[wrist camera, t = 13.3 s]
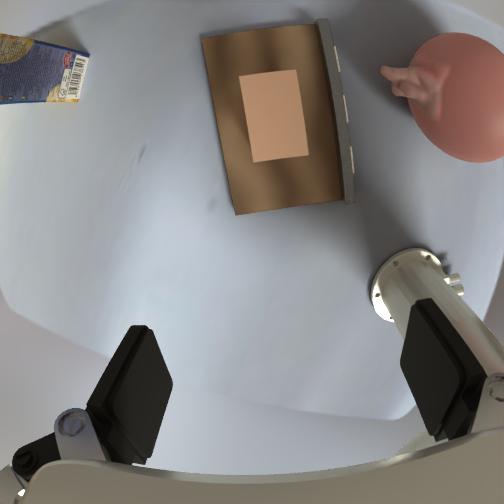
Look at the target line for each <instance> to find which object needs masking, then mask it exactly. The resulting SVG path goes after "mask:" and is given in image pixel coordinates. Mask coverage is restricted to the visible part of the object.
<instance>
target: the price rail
mask: <svg viewBox="0 0 504 504" xmlns="http://www.w3.org/2000/svg"><path fill="white" fill-rule="evenodd" d="M314 26H315V31H316V35H317V40H318V44H319V49H320V54H321V59H322V64H323V69H324V74H325V80H326V86H327V91H328V97H329V103H330V110H331V116H332V123H333V130H334V138H335V146H336V154H337V163H338V172H339V182H340V193H341V200H342V201H343V202H344V203H345V204H353V203H355V193H354V181H353V173H354V164H353V154H352V146H350V141H349V133H348V125H347V122H349V121H348V114H347V107H346V100H345V95H343V92H342V86H341V80H340V75H339V73H340V72H341V71H340V66H339V61H338V56H337V51H336V46H334V45H333V40H332V35H331V31H330V27H329V23H328V19H317V20H316V22H315V23H314Z"/></svg>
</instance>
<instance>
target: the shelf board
mask: <svg viewBox="0 0 504 504" xmlns="http://www.w3.org/2000/svg"><path fill="white" fill-rule="evenodd" d="M202 43H203V48H204V54H205V59H206V65H207V70H208V75H209V81H210V86H211V91H212V97H213V102H214V107H215V113H216V118H217V123H218V128H219V134H220V139H221V144H222V149H223V154H224V160H225V165H226V170H227V175H228V180H229V185H230V190H231V195H232V200H233V206H234V211H235V216H236V215H242V214H249V213H255V212H261V211H268V210H274V209H281V208H288V207H294V206H301V205H308V204H315V203H323V202H330V201H338V200H341V193H340V182H339V172H338V163H337V154H336V146H335V138H334V130H333V123H332V116H331V110H330V103H329V97H328V91H327V86H326V80H325V74H324V69H323V64H322V59H321V54H320V49H319V44H318V40H317V35H316V31H315V26H314V24H309V25H293V26H282V27H272V28H264V29H256V30H249V31H243V32H237V33H231V34H226V35H220V36H216V37H211V38H206V39H202ZM295 69H296V72H297V78H298V84H299V90H300V96H301V103H302V109H303V116H304V123H305V130H306V137H307V145H308V152H309V155H306V156H298V157H290V158H282V159H274V160H267V161H260V162H253V157H252V151H251V145H250V138H249V132H248V126H247V120H246V115H245V109H244V103H243V97H242V91H241V85H240V79H239V76H245V75H252V74H259V73H267V72H275V71H284V70H295Z"/></svg>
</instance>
